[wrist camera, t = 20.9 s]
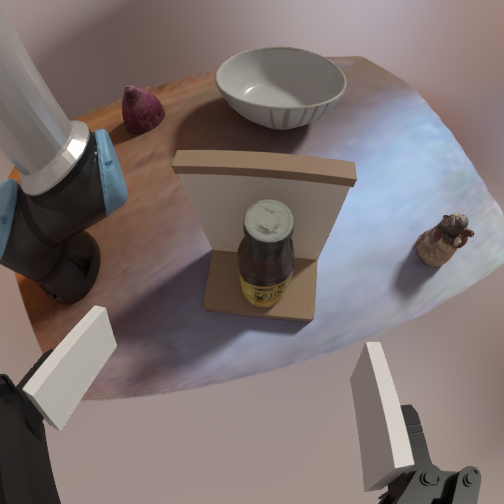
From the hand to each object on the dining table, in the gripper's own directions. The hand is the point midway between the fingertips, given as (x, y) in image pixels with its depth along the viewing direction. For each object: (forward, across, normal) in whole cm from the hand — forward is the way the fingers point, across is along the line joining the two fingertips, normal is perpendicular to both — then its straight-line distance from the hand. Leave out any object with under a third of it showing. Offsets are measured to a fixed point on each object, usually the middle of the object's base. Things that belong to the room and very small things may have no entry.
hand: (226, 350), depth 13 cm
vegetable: (+55, -33, +14) cm, 66 cm away
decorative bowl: (+57, 0, +15) cm, 59 cm away
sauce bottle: (+25, +1, -11) cm, 28 cm away
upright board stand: (+28, 0, -12) cm, 31 cm away
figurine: (+34, +31, -6) cm, 47 cm away
